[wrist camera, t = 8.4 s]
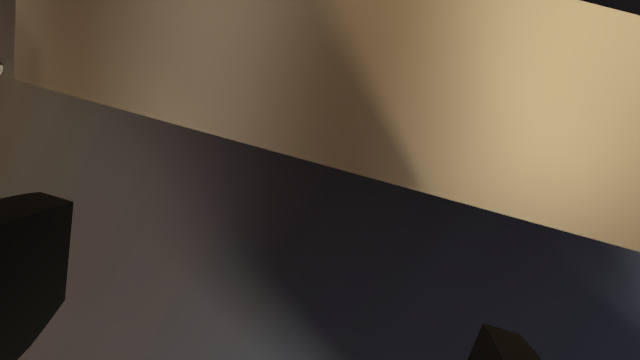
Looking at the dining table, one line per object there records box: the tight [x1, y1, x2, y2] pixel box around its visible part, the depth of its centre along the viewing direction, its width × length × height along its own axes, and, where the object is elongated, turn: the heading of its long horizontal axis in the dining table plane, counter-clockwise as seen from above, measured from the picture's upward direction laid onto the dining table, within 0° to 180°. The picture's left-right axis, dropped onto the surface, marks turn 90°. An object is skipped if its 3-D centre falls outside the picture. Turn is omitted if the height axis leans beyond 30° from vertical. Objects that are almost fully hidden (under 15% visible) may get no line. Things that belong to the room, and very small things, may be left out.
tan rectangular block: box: [14, 0, 640, 252], centre depth 13 cm, size 14×4×5 cm, turn 77°
